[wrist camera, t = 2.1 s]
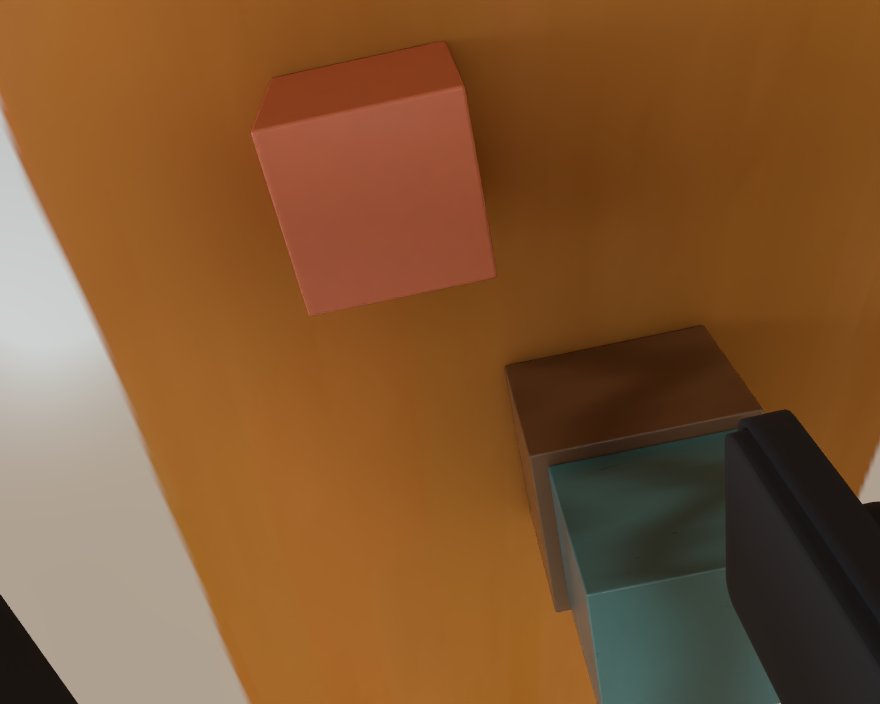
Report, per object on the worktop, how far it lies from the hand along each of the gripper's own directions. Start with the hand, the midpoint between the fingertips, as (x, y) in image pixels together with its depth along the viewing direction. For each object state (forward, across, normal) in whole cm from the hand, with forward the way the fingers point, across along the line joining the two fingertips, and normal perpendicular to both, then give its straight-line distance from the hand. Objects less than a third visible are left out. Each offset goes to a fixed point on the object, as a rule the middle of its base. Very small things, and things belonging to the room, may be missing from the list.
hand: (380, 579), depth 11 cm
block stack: (+16, -6, +12) cm, 21 cm away
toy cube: (+16, 0, 0) cm, 16 cm away
